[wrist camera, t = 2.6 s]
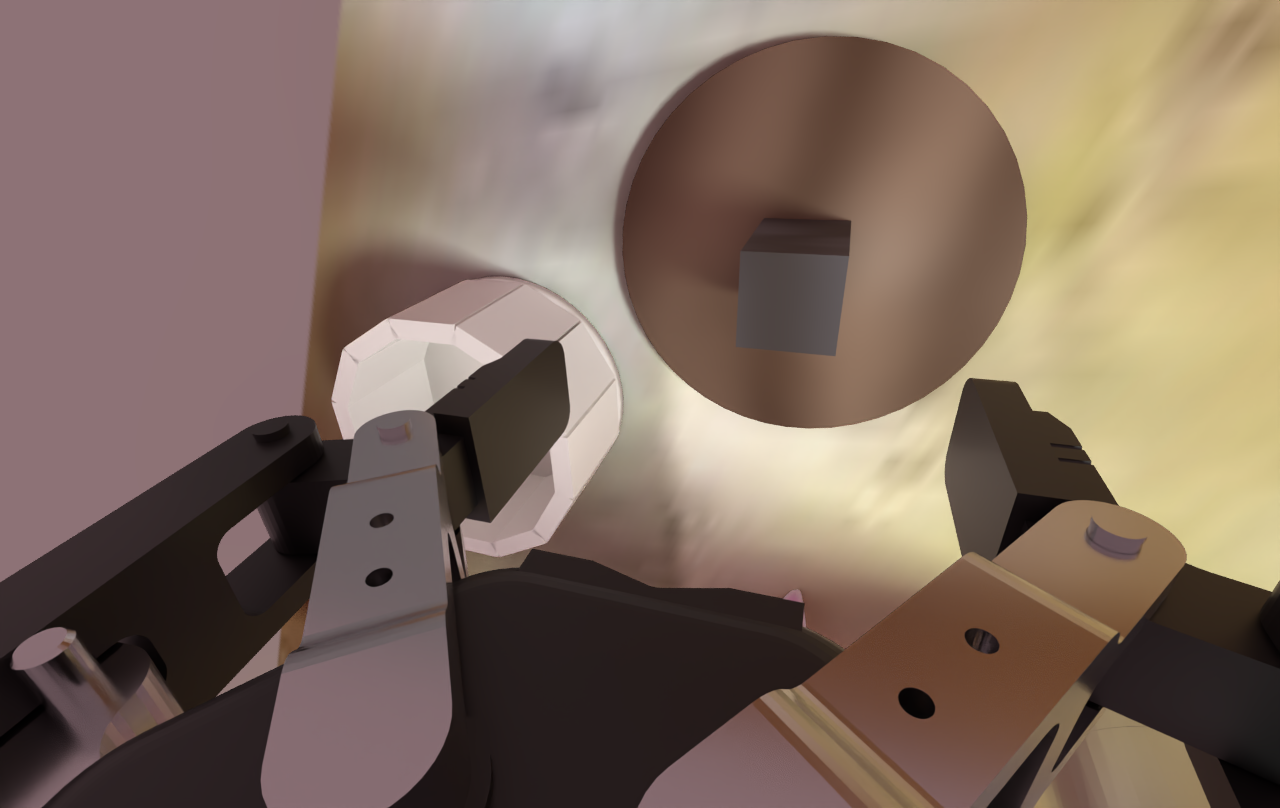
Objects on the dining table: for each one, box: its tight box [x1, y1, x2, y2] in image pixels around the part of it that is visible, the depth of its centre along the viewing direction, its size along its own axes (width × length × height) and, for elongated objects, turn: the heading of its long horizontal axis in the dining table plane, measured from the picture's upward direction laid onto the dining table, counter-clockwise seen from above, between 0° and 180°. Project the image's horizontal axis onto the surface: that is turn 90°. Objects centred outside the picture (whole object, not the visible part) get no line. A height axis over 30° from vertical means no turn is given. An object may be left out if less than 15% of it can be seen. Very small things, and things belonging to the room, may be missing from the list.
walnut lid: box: [623, 36, 1027, 428], centre depth 20 cm, size 14×14×6 cm
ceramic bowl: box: [331, 276, 624, 557], centre depth 27 cm, size 11×11×6 cm
